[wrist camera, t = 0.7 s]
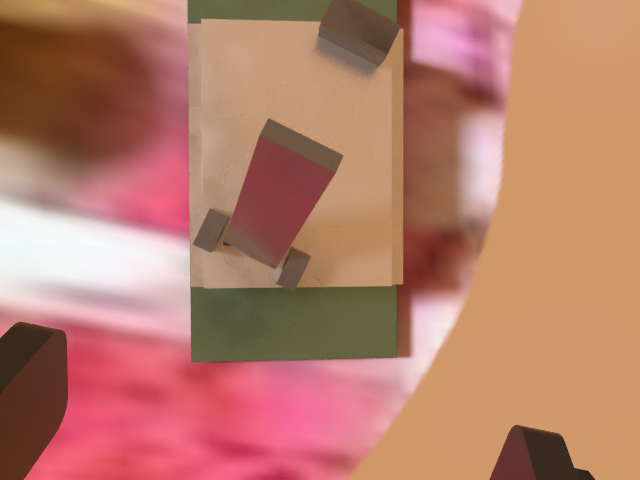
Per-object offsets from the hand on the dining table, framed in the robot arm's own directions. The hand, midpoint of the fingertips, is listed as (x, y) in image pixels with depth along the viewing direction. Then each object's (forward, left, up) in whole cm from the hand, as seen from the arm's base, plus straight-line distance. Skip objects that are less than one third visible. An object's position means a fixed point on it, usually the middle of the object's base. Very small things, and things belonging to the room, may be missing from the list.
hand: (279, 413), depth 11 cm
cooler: (-7, +1, -27) cm, 28 cm away
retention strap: (-4, 0, -16) cm, 17 cm away
